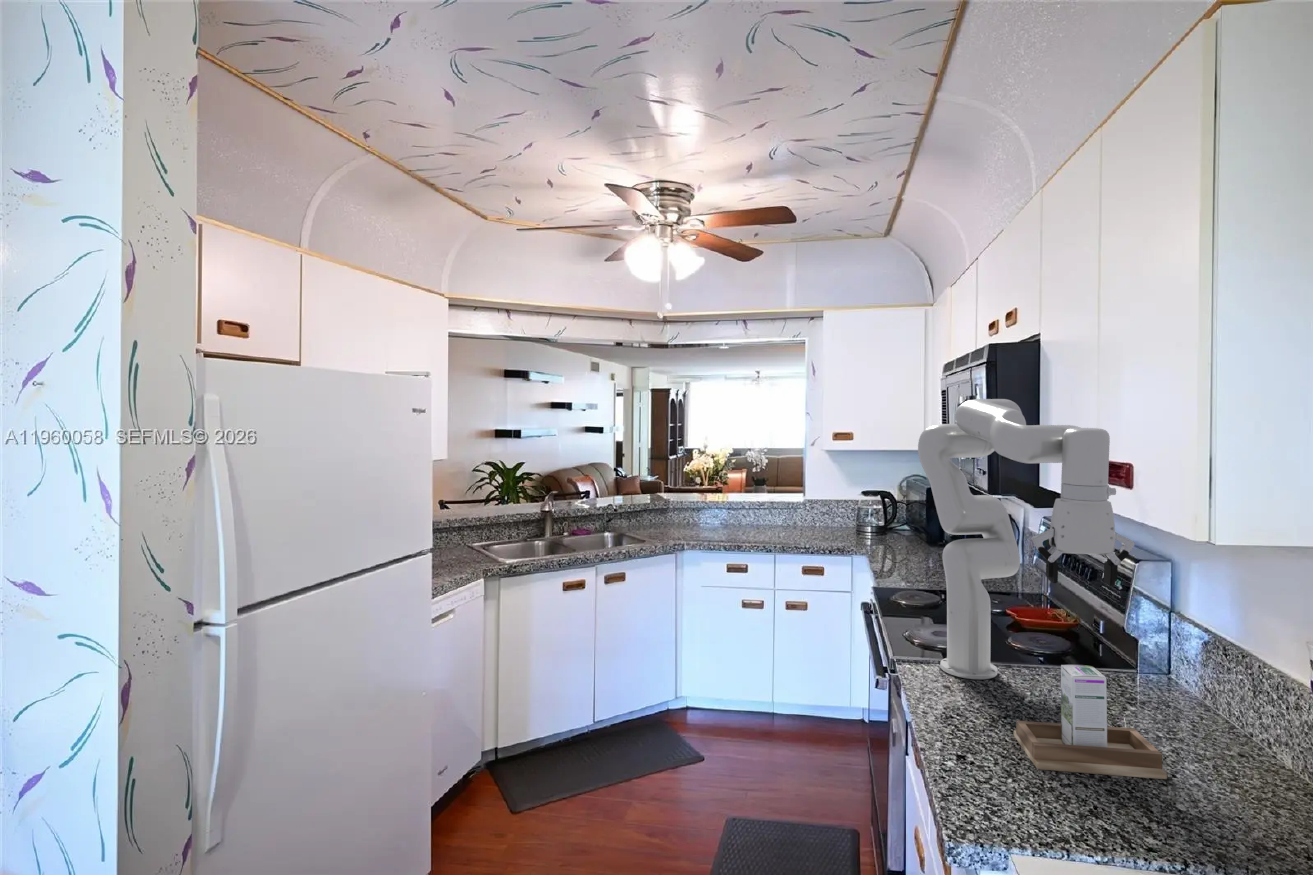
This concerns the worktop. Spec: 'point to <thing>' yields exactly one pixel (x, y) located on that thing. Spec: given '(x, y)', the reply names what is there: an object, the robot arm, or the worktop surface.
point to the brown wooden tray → (1090, 752)
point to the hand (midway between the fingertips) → (1080, 582)
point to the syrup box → (1083, 706)
